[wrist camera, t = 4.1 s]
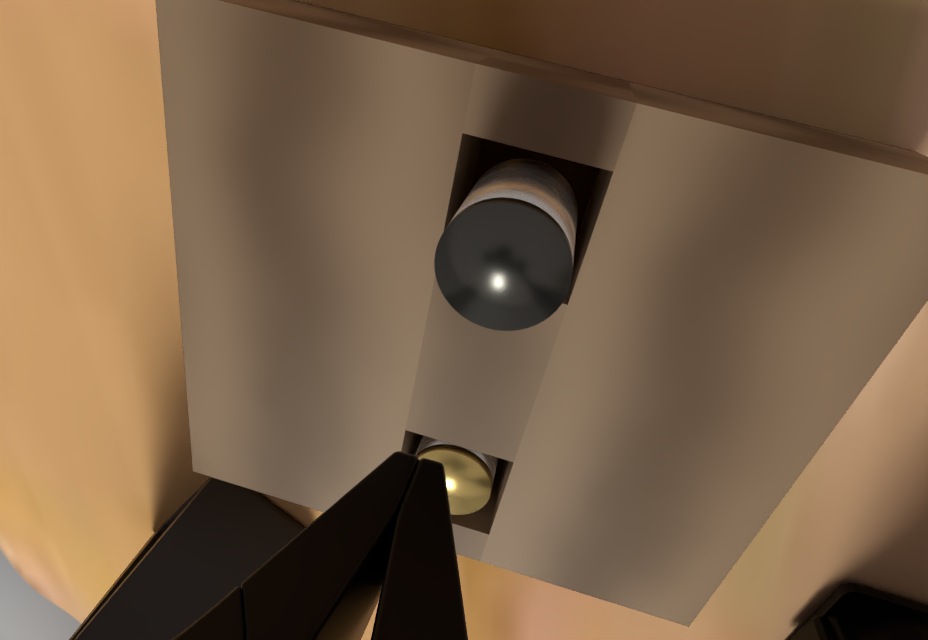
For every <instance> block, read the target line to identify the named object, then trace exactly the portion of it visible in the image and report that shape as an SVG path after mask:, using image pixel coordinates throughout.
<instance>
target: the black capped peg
mask: <svg viewBox="0 0 928 640" xmlns="http://www.w3.org/2000/svg"><path fill="white" fill-rule="evenodd" d="M577 215H578V213H577V202H576V198H575V195H574V192H573V190H572V188H571V186H570V185H569V183H568V182H567V180H566V179H565V178H564V177H563V176H562V175H561V174H560V173H559V172H558V171H557V170H555V169H554V168H552V167H551V166H549V165H547V164H545V163H543V162H539V161H536V160H531V159H512V160H507V161H504V162H501V163H499V164H497V165H495V166H493V167H492V168H490V169H489V170H487V171H486V172H485V173H484V174H483V175H482V176H481V177H480V178H479V180H478V181H477V182H476V184H475V185H474V187H473V188H472V190H471V191H470V193H469V194H468V196H467V197H466V199H465V200H464V202H463V203H462V205H461V206H460V208H459V209H458V211H457V212H456V214H455V215H454V217H453V218H452V220H451V221H450V223H449V224H448V226H447V228H446V229H445V231H444V232H443V234H442V236H441V237H440V240H439V242H438V244H437V248H436V252H435V259H434V269H435V275H436V279H437V283H438V286H439V288H440V290H441V292H442V294H443V296H444V297H445V299H446V300H447V302H448V303H449V304H450V305H451V307H452V308H453V309H454V310H455V311H456V312H458V313H459V314H460V315H461V316H463V317H464V318H466V319H467V320H469V321H470V322H472V323H475V324H477V325H479V326H482V327H485V328H488V329H493V330H500V331H515V330H522V329H526V328H529V327H532V326H535V325H537V324H539V323H541V322H543V321H544V320H546V319H547V318H549V317H550V316H551V315H552V314H553V313H554V312H556V311H557V309H558V308H559V307H560V306H561V304H562V303H563V301H564V300H565V298H566V296H567V294H568V291H569V289H570V285H571V281H572V271H573V260H574V249H575V237H576V226H577Z"/></svg>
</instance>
